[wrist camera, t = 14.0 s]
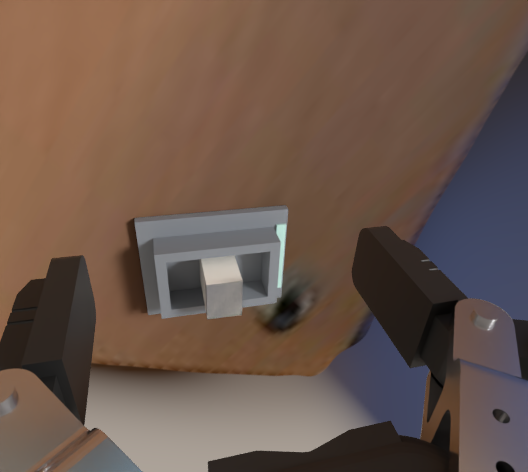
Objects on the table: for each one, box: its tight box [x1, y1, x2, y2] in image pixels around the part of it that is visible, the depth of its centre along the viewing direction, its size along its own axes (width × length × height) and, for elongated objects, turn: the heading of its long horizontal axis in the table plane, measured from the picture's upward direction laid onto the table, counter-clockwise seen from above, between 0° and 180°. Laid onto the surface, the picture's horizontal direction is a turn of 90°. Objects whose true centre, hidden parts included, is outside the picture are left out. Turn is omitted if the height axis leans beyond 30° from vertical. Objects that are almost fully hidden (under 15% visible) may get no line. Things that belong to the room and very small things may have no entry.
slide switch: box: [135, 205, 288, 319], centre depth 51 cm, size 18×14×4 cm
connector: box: [199, 256, 243, 319], centre depth 49 cm, size 4×5×7 cm
